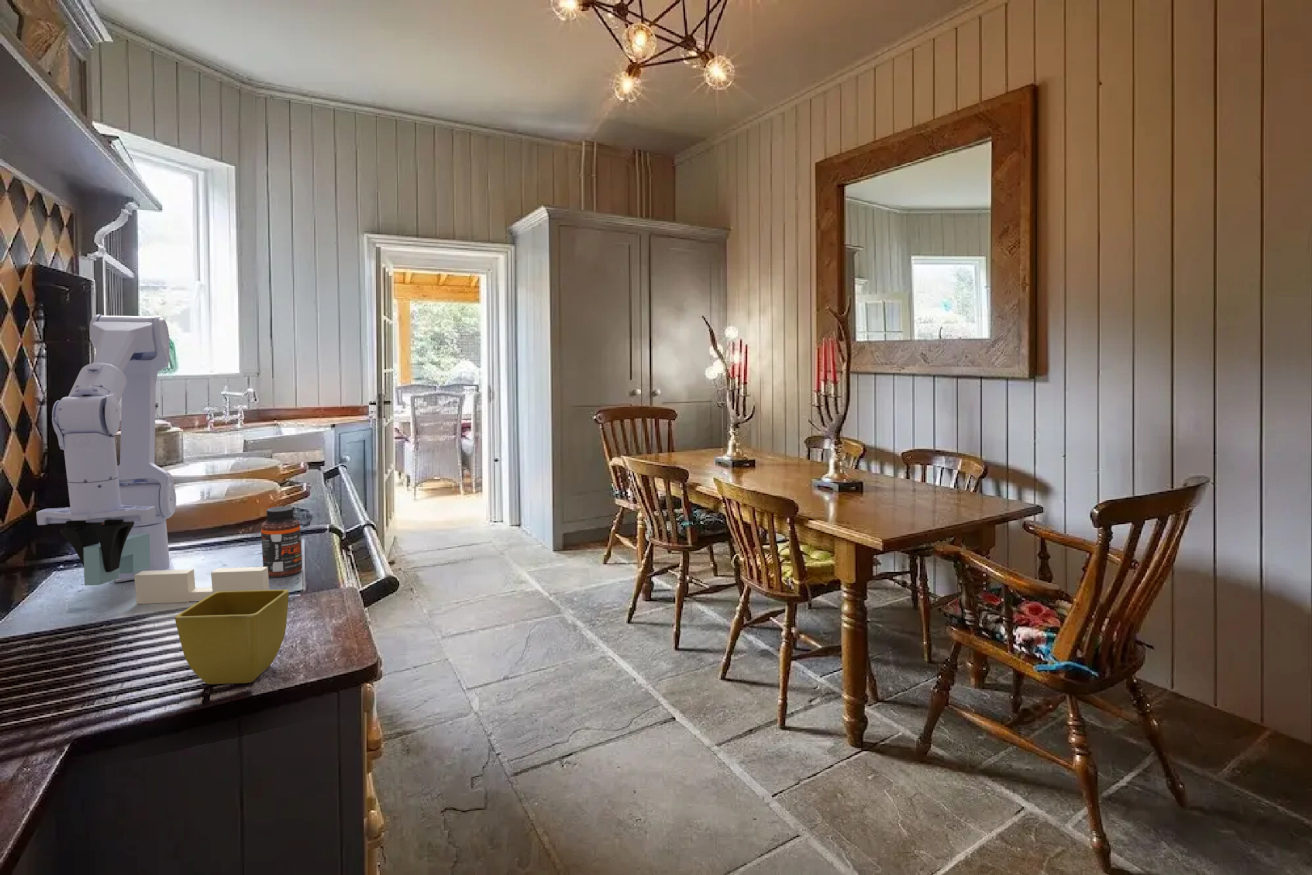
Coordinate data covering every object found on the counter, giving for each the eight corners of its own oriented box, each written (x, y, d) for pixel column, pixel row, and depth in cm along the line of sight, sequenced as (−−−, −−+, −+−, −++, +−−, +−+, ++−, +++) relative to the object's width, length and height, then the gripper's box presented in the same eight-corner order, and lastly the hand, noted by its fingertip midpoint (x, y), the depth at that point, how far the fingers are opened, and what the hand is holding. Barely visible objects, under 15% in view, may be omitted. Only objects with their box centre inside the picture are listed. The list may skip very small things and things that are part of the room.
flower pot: (221, 659, 85) (216, 589, 84) (294, 657, 86) (290, 588, 85) (178, 694, 76) (172, 617, 75) (260, 691, 77) (255, 615, 76)
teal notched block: (136, 567, 110) (135, 533, 110) (150, 567, 111) (149, 533, 110) (84, 585, 98) (83, 547, 98) (99, 584, 99) (98, 546, 99)
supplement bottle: (286, 579, 115) (281, 513, 114) (255, 577, 116) (250, 511, 115) (310, 568, 121) (306, 505, 119) (281, 566, 122) (277, 503, 121)
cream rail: (136, 604, 104) (134, 575, 103) (144, 599, 106) (142, 570, 105) (264, 598, 106) (262, 570, 105) (269, 594, 108) (267, 566, 107)
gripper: (15, 485, 94) (26, 581, 96) (131, 483, 96) (140, 577, 98) (53, 476, 101) (63, 565, 103) (160, 474, 103) (168, 562, 105)
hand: (102, 570), depth 101 cm, fingers closed on teal notched block, 2 cm apart
